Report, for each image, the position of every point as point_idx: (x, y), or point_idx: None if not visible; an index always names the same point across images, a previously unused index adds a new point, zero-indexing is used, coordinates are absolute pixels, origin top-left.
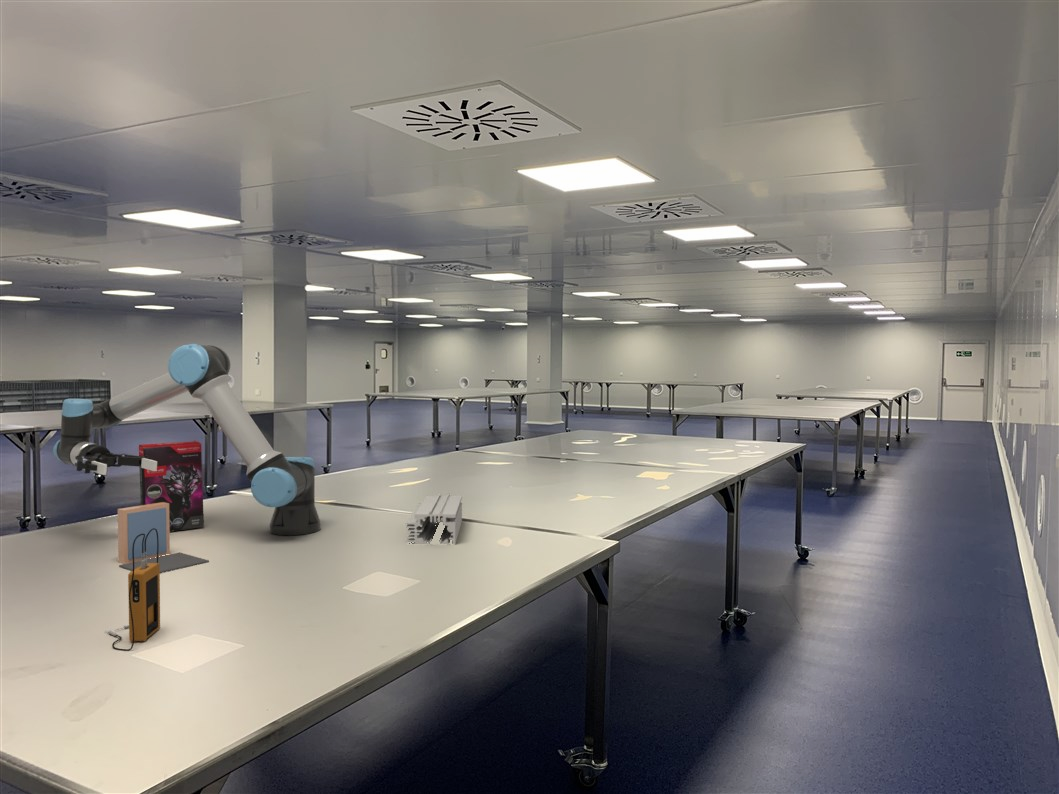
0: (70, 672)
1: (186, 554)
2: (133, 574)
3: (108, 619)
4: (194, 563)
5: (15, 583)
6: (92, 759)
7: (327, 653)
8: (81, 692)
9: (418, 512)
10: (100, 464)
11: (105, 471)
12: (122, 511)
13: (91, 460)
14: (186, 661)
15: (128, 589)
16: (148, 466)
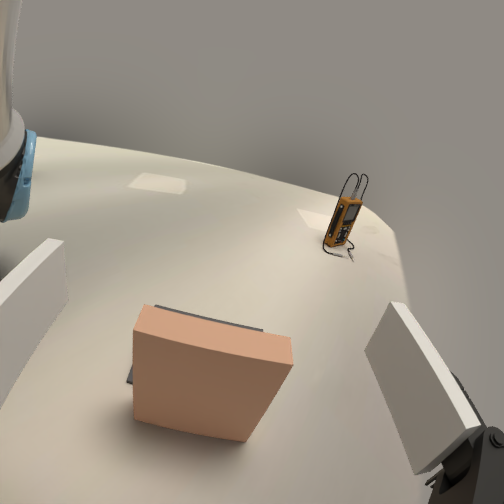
0: (375, 246)
1: None
2: (361, 198)
3: (346, 274)
4: (180, 312)
5: None
6: (372, 215)
7: (274, 188)
8: (372, 234)
9: None
10: (420, 333)
11: (377, 335)
12: (289, 344)
13: (483, 481)
14: (327, 219)
15: (358, 212)
16: (33, 326)
